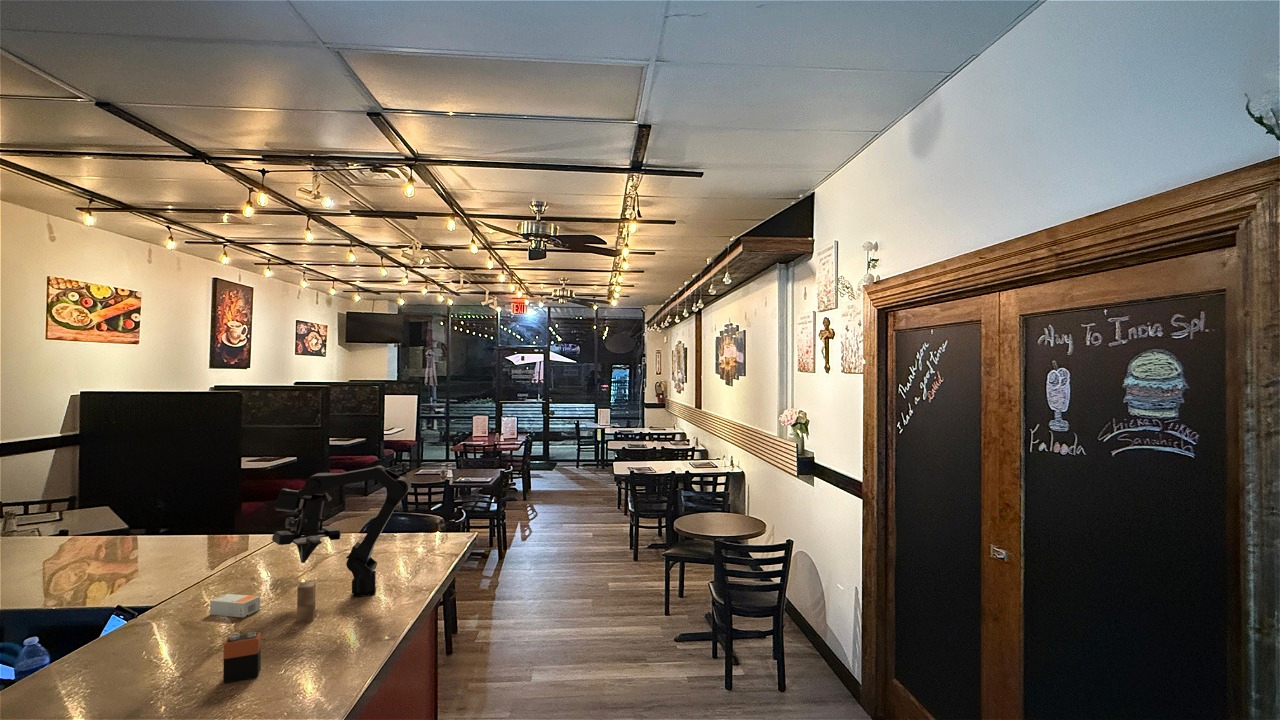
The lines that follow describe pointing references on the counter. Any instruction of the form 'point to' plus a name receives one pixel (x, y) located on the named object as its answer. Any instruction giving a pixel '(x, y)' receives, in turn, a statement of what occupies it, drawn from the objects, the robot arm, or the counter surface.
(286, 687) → the counter surface
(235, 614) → the skincare box
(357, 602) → the counter surface
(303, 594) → the walnut block
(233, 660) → the battery
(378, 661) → the counter surface
